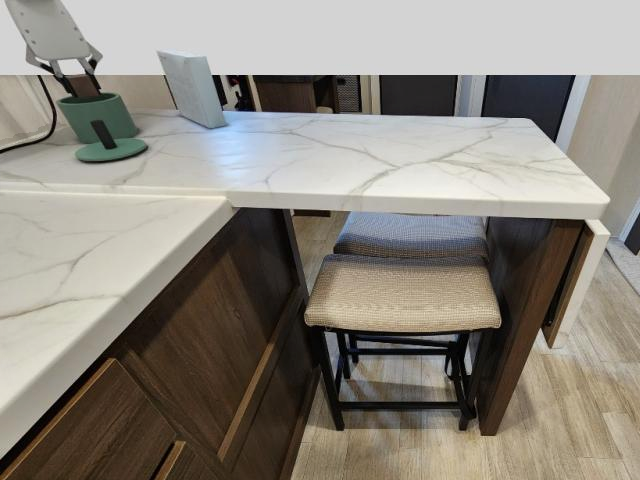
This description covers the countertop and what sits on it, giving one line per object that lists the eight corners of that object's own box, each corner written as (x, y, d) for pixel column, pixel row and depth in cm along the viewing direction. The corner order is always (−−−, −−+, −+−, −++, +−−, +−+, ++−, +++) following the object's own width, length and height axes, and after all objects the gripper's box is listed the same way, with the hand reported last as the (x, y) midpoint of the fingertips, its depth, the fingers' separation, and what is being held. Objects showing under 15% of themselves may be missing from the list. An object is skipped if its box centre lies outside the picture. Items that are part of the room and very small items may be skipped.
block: (79, 98, 77) (67, 78, 74) (75, 95, 79) (63, 75, 76) (99, 95, 79) (88, 75, 76) (94, 93, 81) (84, 73, 78)
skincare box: (229, 125, 92) (206, 55, 81) (210, 129, 89) (184, 57, 78) (197, 111, 103) (174, 48, 92) (179, 115, 100) (152, 49, 89)
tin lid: (86, 169, 69) (65, 135, 65) (71, 153, 76) (50, 121, 71) (156, 152, 76) (141, 121, 72) (136, 139, 83) (121, 109, 79)
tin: (87, 147, 79) (62, 107, 73) (74, 136, 85) (50, 98, 79) (144, 135, 85) (126, 97, 80) (129, 125, 92) (110, 90, 86)
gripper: (73, -10, 73) (121, 87, 85) (-31, -10, 64) (39, 98, 76) (82, -10, 69) (130, 92, 82) (-28, -10, 60) (46, 104, 73)
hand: (86, 94), depth 79 cm, fingers closed on block, 4 cm apart
